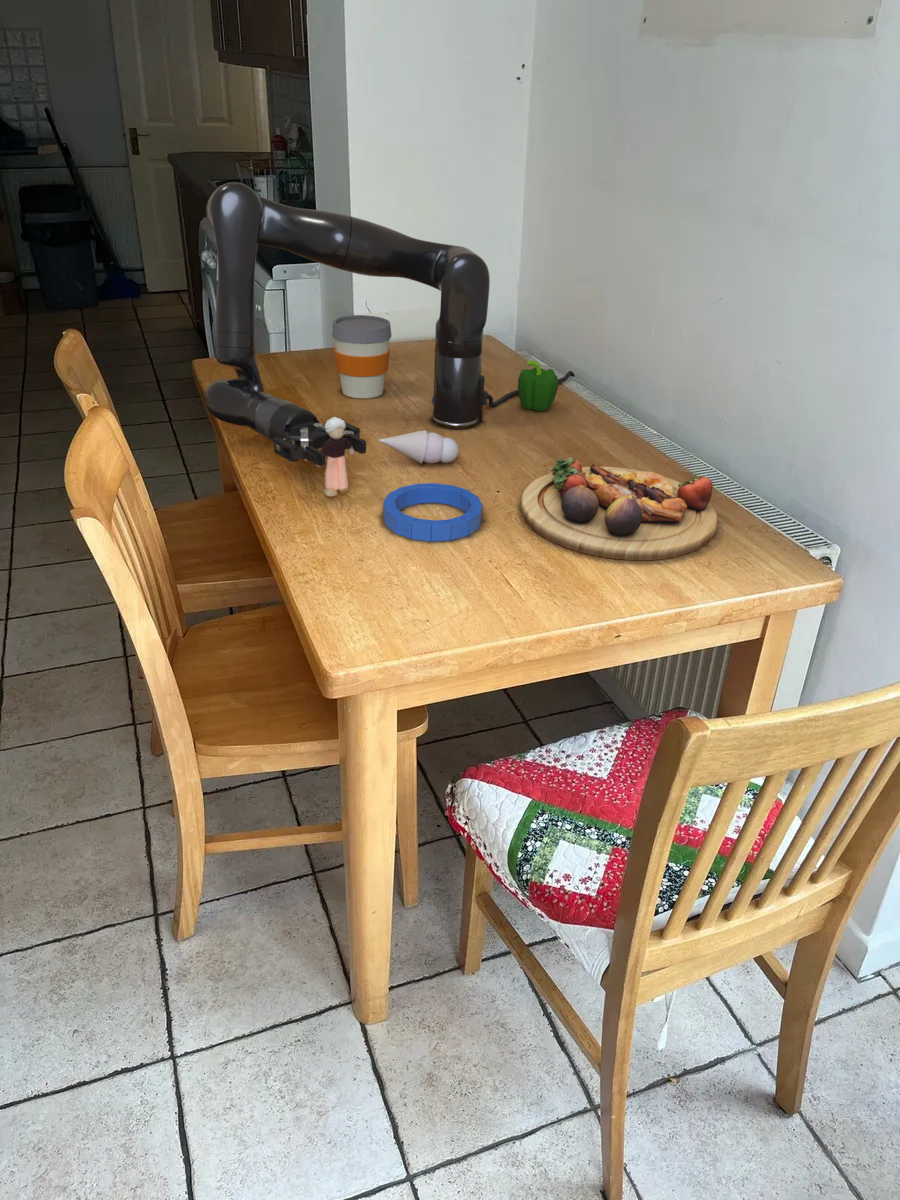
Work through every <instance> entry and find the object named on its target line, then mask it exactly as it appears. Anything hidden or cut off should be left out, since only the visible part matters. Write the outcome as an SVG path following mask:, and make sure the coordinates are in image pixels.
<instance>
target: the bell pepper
mask: <svg viewBox="0 0 900 1200" xmlns="http://www.w3.org/2000/svg"><path fill="white" fill-rule="evenodd" d="M526 363H527V366H528V367H529V366H533V367H534V368H531V369H529V368H525V369H524V368H522V369H521V371H520V373H519V376H518V379H517V390H518V393H519V394H518V398H519V401H520V402H519V403H520V405H521V407H522V408H523V409H526V410H534V411H536V412H545V411H549V409H550V408H551V407H552V405H553V403H554V400H555V398H556V396H557V392H558V390H559V389H558V388H559V383H558V379H559V378H558V375H556V373H555V371H554V369H553V368H552V369H551V368H549V369H543V368H541V365H540V363H538V362H537V361H535V360H528V361H526Z"/></svg>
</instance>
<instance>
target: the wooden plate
mask: <svg viewBox="0 0 900 1200" xmlns="http://www.w3.org/2000/svg"><path fill="white" fill-rule="evenodd" d="M555 463H556V464H555V465H553V466H552V468H551V470H550V472H549V473H547V474H544V475H542V476H540V477H537V478H536V479H534V480H533V481H532V482H530V483H529V484H528V485H527V486H526V487H525V489H524V490H523V491H522V494H521V496H520V500H519V508H520V513H521V515H522V517H523V519H524V521H525V522H526V523H527V525H528V526H530V528H531V529H533V530H534V531H535V532H536V533H538V534H539V535H540V536H542V537H544V538H545V539H547V540H549V541H550V542H552V543H555V544H557V545H559V546H562V547H564V548H566V549H570V550H573V551H575V552H579V553H583V554H587V555H591V556H595V557H601V558H602V557H603V558H609V559H614V560H615V559H616V560H624V561H625V560H626V561H653V560H654V561H655V560H664V559H671V558H674V557H675V558H676V557H679V556H683V555H686V554H688V553H692V552H694V551H696V550H698V549H701V548H702V547H703V546H705V545H706V544H708V543H709V542H710V541H711V540H712V539H713V538H714V536H715V534H717V531H718V528H719V527H718V526H719V517H718V513H717V511H716V509H715V507H714V506H713V504H712V503H711V502H710V501H711V499H712V494H713V489H714V488H713V487H714V486H713V481H712V480H711V478H709V477H707V476H704V475H703V476H702V475H700V476H699V477H694V478H692V477H690V480H691V481H690V480H687V481H685V480H683V483H682V482H680V481H678V480H674V479H672V478H669V477H667V476H664V475H662V474H660V473H655V472H654V471H647V470H646V471H645V470H638V469H633V468H626V467H617V466H599V465H596V464H594V463H593V464H591V465H590V466H582V463H581V462H580V461H578V458H577V457H576V458H575V457H574V458H573V456H569V457H562V458H561V457H560V458H557V459H556V460H555Z"/></svg>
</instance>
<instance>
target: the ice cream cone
mask: <svg viewBox="0 0 900 1200" xmlns="http://www.w3.org/2000/svg"><path fill="white" fill-rule="evenodd" d="M377 441H378V442H380V443H382V444H384V445H386V446H388V447H389V448H391V449H393V450H395V451H397V452H398V453H400V454H401V455H404V456H406V457H408V458H410V459H412V460H413V461H415V462H417V463H419V464H423V463H426V464H437V463H439V462H441V463H443V464H448V463H452V462H453V461H455V460H456V459H457V457H458V455H459V453H460V452H459V450H460V449H459V445H458V443H457V442H456V441H455V440H454V439H453V438H452V437H445V436H444V437H443V436H442V435H441V434H439V433H437V432H434V431H433V432H428V431H427V429H424V430H419V431H413V432H409V433H405V434H399V435H395V436H390V437H386V438H380V439H377Z"/></svg>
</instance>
